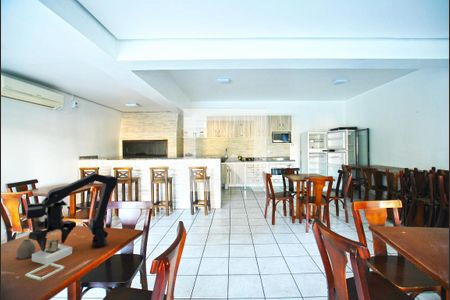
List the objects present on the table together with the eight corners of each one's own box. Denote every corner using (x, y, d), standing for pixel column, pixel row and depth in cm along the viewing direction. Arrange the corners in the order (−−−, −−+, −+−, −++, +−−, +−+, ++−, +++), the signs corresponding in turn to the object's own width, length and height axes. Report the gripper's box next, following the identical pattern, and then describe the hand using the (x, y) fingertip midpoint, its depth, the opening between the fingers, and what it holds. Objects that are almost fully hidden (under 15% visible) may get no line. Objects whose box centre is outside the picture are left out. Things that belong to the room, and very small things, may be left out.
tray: (50, 265, 102) (50, 262, 102) (64, 269, 99) (64, 266, 99) (25, 277, 92) (25, 274, 92) (40, 282, 89) (40, 278, 89)
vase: (36, 258, 108) (37, 240, 108) (17, 263, 103) (17, 244, 103) (34, 253, 112) (34, 236, 112) (15, 257, 107) (16, 239, 107)
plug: (53, 254, 110) (54, 238, 110) (59, 255, 109) (60, 239, 109) (45, 258, 107) (46, 241, 107) (51, 259, 105) (52, 242, 105)
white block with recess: (57, 251, 115) (57, 243, 115) (72, 254, 112) (72, 247, 112) (31, 262, 104) (31, 254, 104) (47, 266, 101) (47, 258, 101)
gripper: (61, 208, 119) (60, 237, 119) (20, 218, 101) (19, 252, 101) (77, 211, 116) (75, 240, 116) (37, 222, 98) (36, 257, 98)
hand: (53, 247), depth 108 cm, fingers open, 9 cm apart
